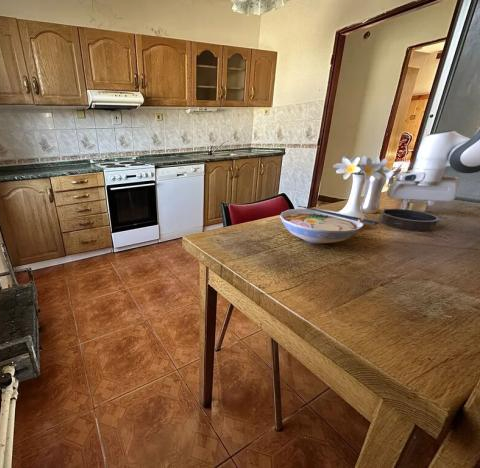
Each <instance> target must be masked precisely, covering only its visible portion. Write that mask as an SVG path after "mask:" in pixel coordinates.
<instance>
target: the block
mask: <svg viewBox="0 0 480 468" xmlns="http://www.w3.org/2000/svg"><path fill="white" fill-rule="evenodd" d="M406 204H407V205H408V206H410V207H409V210H414V211H420V212H425V209H426V206H427V205H426V204H427V203H424V202H423V201H409V200H408V202H406ZM425 213H426V212H425Z"/></svg>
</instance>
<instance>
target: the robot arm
mask: <svg viewBox="0 0 480 468" xmlns="http://www.w3.org/2000/svg"><path fill="white" fill-rule="evenodd" d="M446 167H451V169H452V170H454V171H455V172H457V173H461V174H474V173H480V127H479V128H478V129H477V130H476V132H475V133H474V134H473V136H472V137H467V136H466V135H465V136H464V135H462V134H461V133H459V132H457V131H456V130H453V129H452V130H451V129H449V130H441V131H436V132H435V131H434V132H431V133H429V134H426V136H425V137H424V138H423V139H422V141H421V143H420V145H419V147H418V151H417V154H416V161H415V164H413V166H412V169H410V170H407V171H402V172H401V171H400V173H399V174H397V175H395V176H394V181H393V183H392V184H391V185H390V184H389V185H388V186H389V187H388V189H387V191H386V196H387V197H388V198H389V199H392V200H401V203H402V209H406V210H409V207H410V206H408V205H407V202H408V201H409V200H411V201H413V200H415V201H427V203H425V204H426V205H427V206H426V209H425V211H429V208H430V207H432V206H433V205H434V204H435V202H453V201H454V200H455V199H456V196H457V191H458V187H459V186H460V183H461V179H460V178H459V177H457V176H443V175H444V173H445V170H446Z"/></svg>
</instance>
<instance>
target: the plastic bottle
mask: <svg viewBox="0 0 480 468" xmlns="http://www.w3.org/2000/svg"><path fill="white" fill-rule="evenodd" d="M383 168H387V165H386V166H385V167H383ZM378 174H379V175H380V179H376V178H374V177H372V176H371V177H370V179H369V180H367V179H366V181H365V185H366V186H365V190H364V195H363V197H362V200H361V201H360V208H361V211H362V212H363V214H376V213H377V212H378V211H379V209H380V199H381V195H382V191H383V189H384V186H385V185H386V178H385V177H384V176H382V175H381V174H380V173H378Z"/></svg>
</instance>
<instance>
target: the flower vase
mask: <svg viewBox="0 0 480 468" xmlns="http://www.w3.org/2000/svg"><path fill="white" fill-rule="evenodd" d="M359 162H360V163H359ZM387 164H388V159H387V158H383V159H382V160H381V159H380V157H379V156H377V157H376V160H375V161H373V160H372V158H371V157H367V156H366V155H364V156H362V157H361V158H360V157H359V156H353V157H351V158H350V159H349V156H348V155H347V154H346V155H345V154H344V155H343V157H342V159H341V162H340V163H335V164H333V166H332V168H333V169H336V171H335V173H336V174H343V175H342V176H343V180H347V179H349V177H350V176H351V175H352V187H351V191H350V194H349V198H348V200H347V202H346V204H345V206H344V207H343V208H342V209H340V210H338V212H340V213H344V214H347V215H350V216H353V217H357V218H362V219H367V217H366V215H365V213H364V212H362V211H361V208H360V204H361V197H362V193H363V188H364V186H365V184H366V181H367V180H369V179H370V177H371V176H372V177H374V178H376V179H380V175H379V174H378V173H380V174H381V175H382V176H384V177H385V178H386V182H385V188H387V187H388V186H390V185H391V184H392V183H393V181H394V180H395V175H397V174H399V173H401V171H402V168H401V167H402V166H403V163H401V164H399V165H398V166H397V167H394V168H393V169H392V170H391V169H390V168H389V167H387ZM385 166H386V167H385ZM383 167H385V168H383ZM400 168H401V169H400ZM365 224H366V223H363V225H365Z"/></svg>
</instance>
